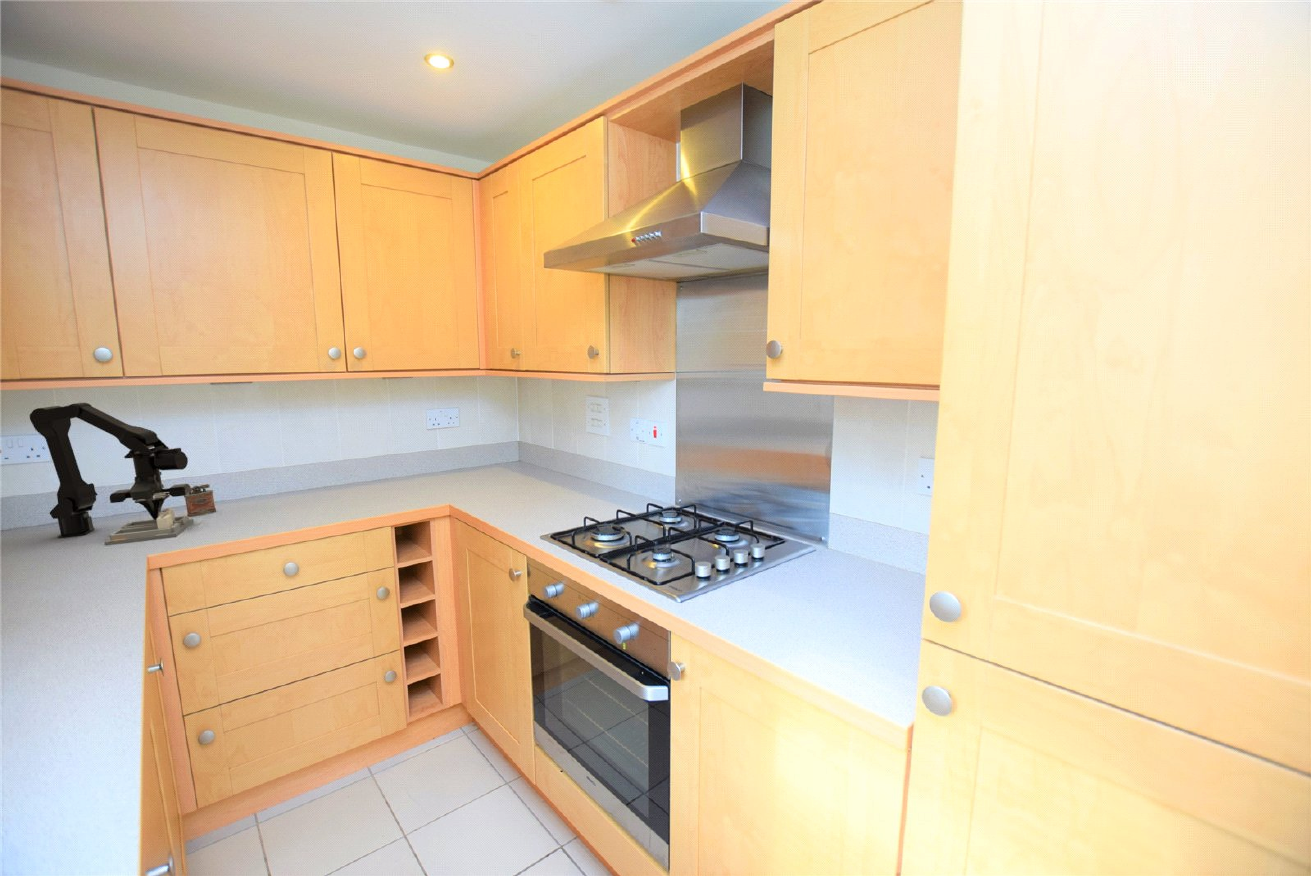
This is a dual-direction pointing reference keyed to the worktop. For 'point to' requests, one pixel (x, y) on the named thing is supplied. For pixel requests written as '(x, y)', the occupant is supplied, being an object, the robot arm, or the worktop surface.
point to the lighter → (200, 501)
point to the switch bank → (147, 531)
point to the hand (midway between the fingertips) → (156, 519)
